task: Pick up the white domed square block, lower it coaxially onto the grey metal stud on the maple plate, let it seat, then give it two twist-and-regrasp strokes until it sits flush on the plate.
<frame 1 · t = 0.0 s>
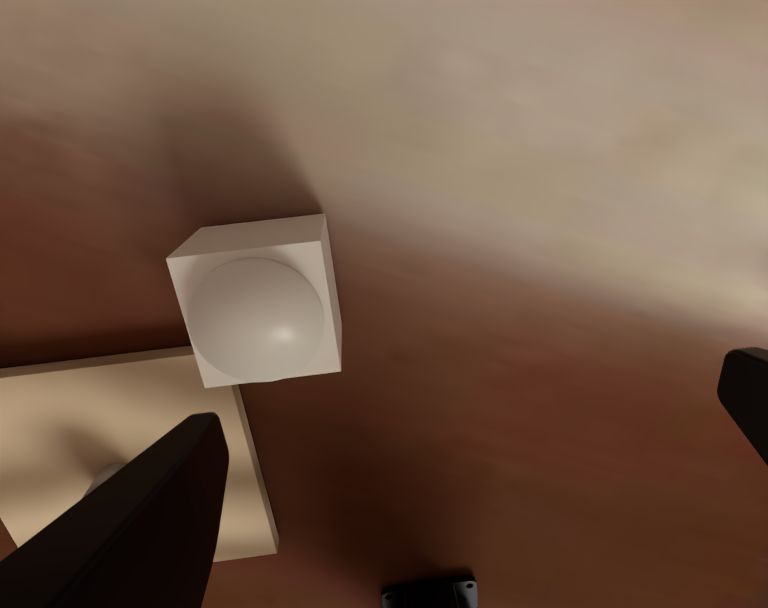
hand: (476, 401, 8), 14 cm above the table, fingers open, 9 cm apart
white domed square block: (275, 278, 22), on the table
stud plate: (129, 467, 26), on the table
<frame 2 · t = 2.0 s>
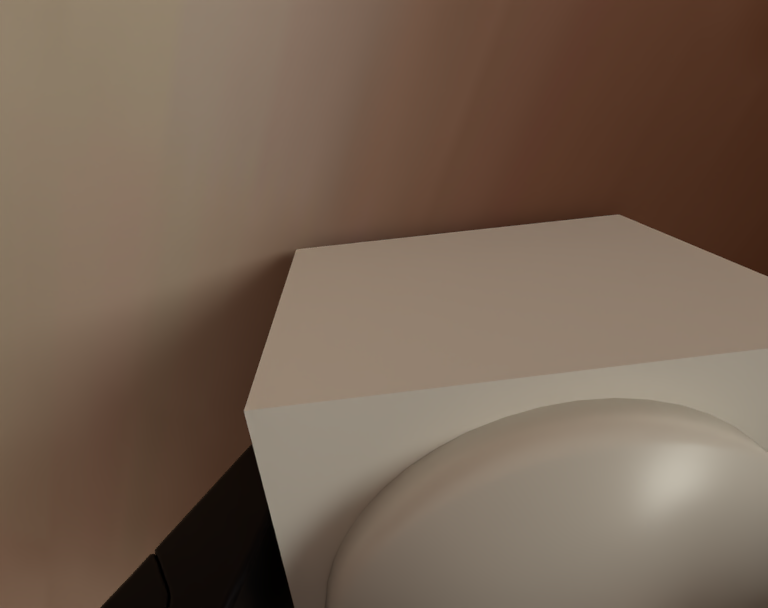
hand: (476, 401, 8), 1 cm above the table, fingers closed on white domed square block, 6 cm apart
white domed square block: (462, 370, 9), on the table, touching gripper
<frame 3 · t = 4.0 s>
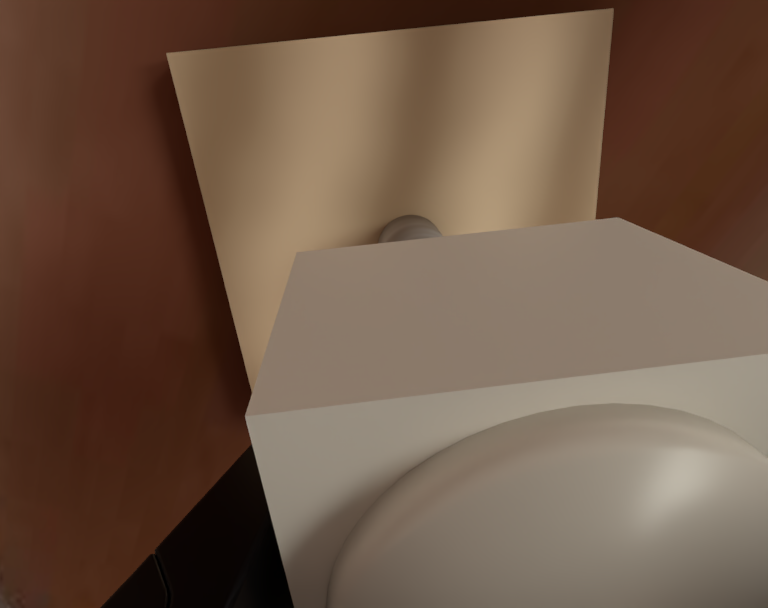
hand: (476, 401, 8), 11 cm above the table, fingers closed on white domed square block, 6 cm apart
white domed square block: (462, 373, 9), point 10 cm above the table, touching gripper
stud plate: (406, 239, 18), on the table
when the fingers open (3 cm above the table, at t = 6.2 s): white domed square block stays where it is, resting on stud plate.
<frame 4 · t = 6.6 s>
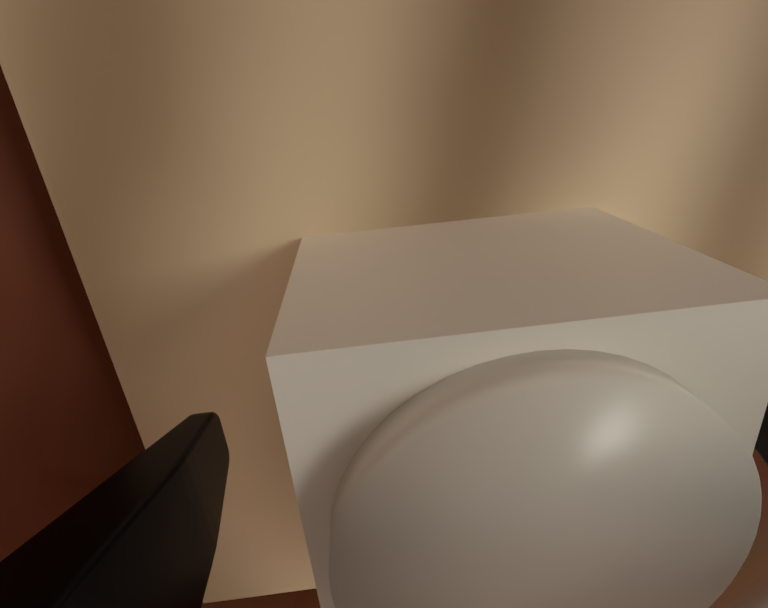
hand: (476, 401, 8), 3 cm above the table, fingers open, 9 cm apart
white domed square block: (452, 349, 10), point 1 cm above the table, touching stud plate
stud plate: (442, 326, 11), on the table
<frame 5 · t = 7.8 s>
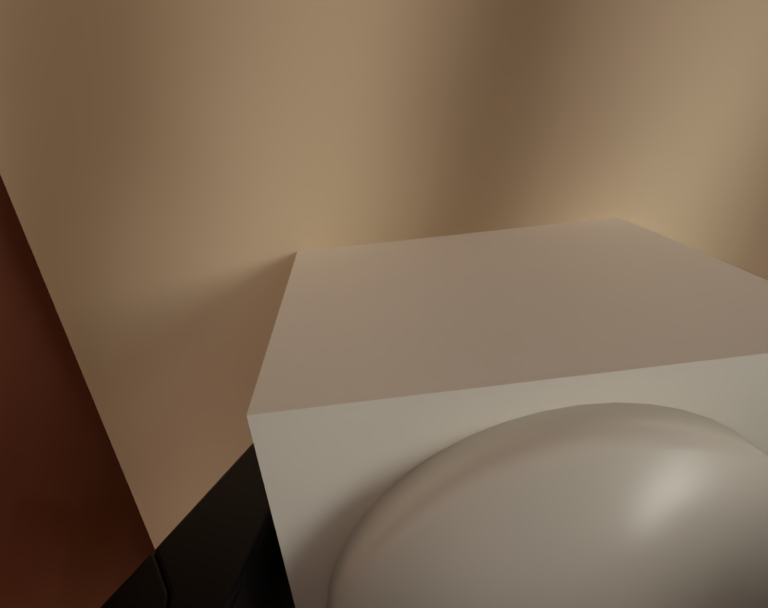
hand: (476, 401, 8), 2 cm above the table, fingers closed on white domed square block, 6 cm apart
white domed square block: (463, 372, 9), point 1 cm above the table, touching gripper, stud plate
stud plate: (451, 346, 10), on the table
when the fingers open (2 cm above the table, at t = 9.2 s): white domed square block stays where it is, resting on stud plate.
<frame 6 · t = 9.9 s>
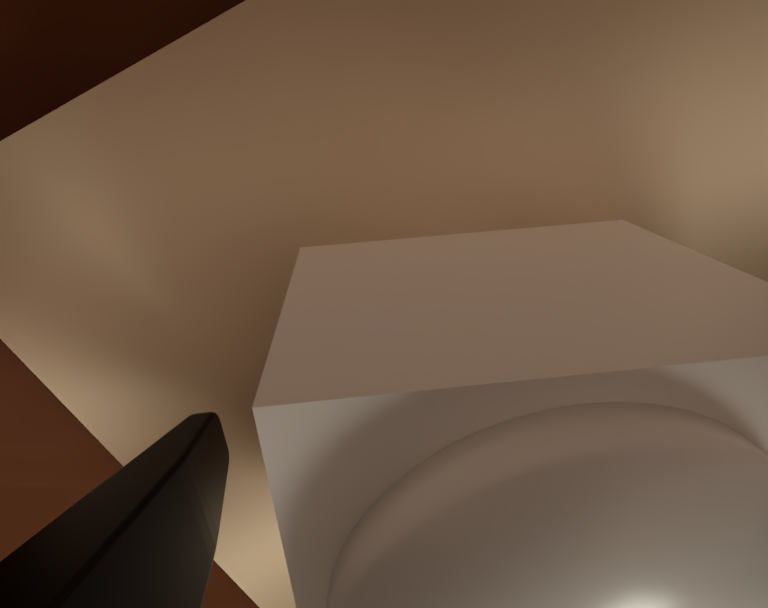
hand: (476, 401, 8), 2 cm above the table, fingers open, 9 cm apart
white domed square block: (463, 372, 9), point 1 cm above the table, touching stud plate
stud plate: (452, 345, 10), on the table
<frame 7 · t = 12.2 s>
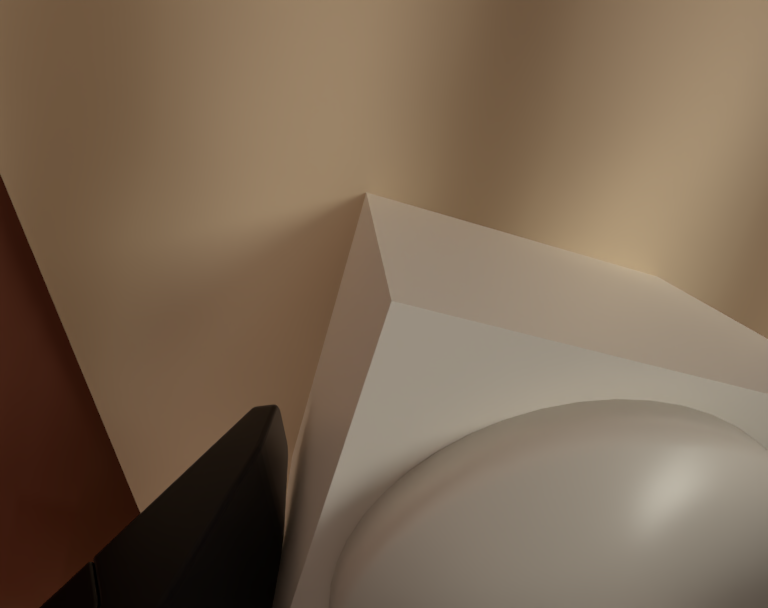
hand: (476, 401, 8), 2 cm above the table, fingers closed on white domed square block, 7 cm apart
white domed square block: (464, 371, 9), point 1 cm above the table, touching gripper, stud plate
stud plate: (451, 346, 10), on the table
when the fingers open (2 cm above the table, at t = 13.6 s): white domed square block stays where it is, resting on stud plate.
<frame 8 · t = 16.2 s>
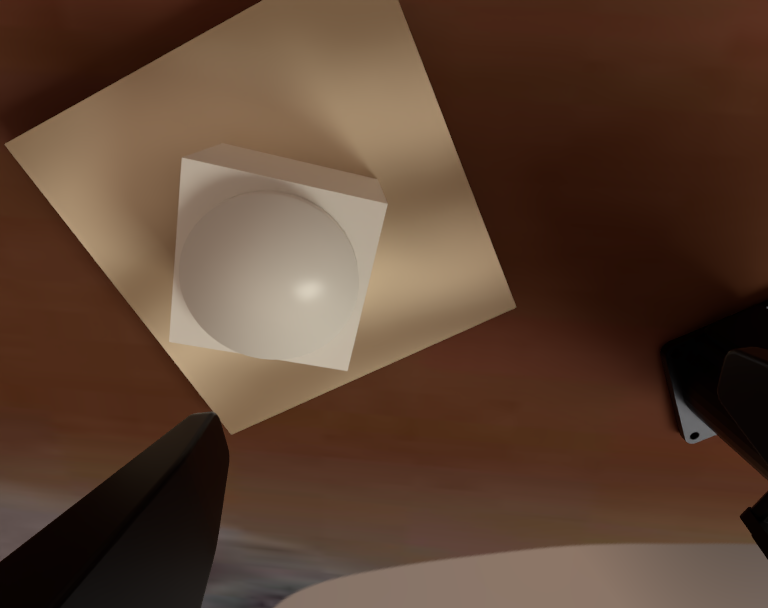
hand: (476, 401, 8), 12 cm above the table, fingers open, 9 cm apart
white domed square block: (290, 235, 18), point 1 cm above the table, touching stud plate
stud plate: (291, 228, 19), on the table
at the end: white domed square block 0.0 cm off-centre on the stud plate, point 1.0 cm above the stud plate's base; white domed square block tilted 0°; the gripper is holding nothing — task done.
